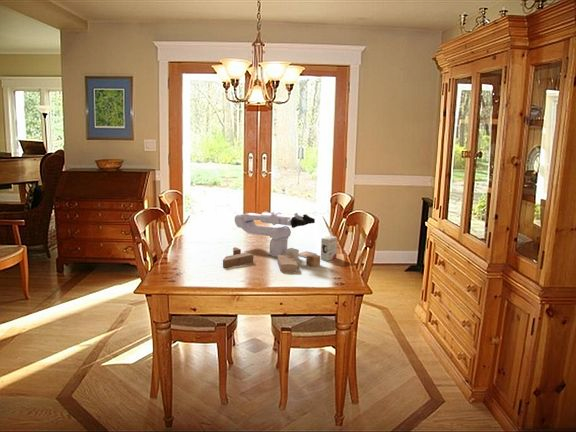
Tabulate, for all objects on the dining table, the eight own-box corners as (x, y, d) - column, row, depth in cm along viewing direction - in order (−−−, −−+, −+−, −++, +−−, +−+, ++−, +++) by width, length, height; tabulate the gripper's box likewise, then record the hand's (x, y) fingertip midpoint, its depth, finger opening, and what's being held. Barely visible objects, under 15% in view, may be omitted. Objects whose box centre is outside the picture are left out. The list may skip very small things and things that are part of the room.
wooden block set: (255, 252, 253) (225, 258, 242) (255, 263, 255) (225, 269, 243) (236, 245, 266) (207, 250, 255) (236, 255, 267) (207, 260, 256)
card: (295, 255, 269) (295, 254, 269) (306, 251, 276) (306, 251, 276) (305, 257, 264) (305, 257, 264) (316, 254, 272) (316, 253, 272)
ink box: (329, 256, 269) (330, 235, 267) (336, 258, 266) (338, 236, 264) (320, 259, 263) (321, 237, 260) (327, 261, 260) (328, 239, 257)
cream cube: (285, 258, 262) (285, 249, 261) (291, 256, 266) (291, 247, 265) (292, 260, 259) (292, 251, 258) (298, 258, 263) (298, 249, 262)
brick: (297, 272, 241) (298, 263, 240) (280, 273, 240) (280, 263, 239) (293, 262, 257) (293, 254, 256) (277, 263, 256) (277, 254, 255)
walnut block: (306, 265, 252) (306, 255, 251) (312, 263, 256) (312, 253, 255) (313, 267, 249) (314, 257, 248) (319, 265, 253) (320, 255, 252)
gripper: (279, 214, 254) (300, 216, 245) (297, 210, 265) (318, 212, 256) (280, 227, 255) (301, 230, 246) (298, 223, 266) (318, 225, 257)
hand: (309, 222), depth 251 cm, fingers open, 7 cm apart
